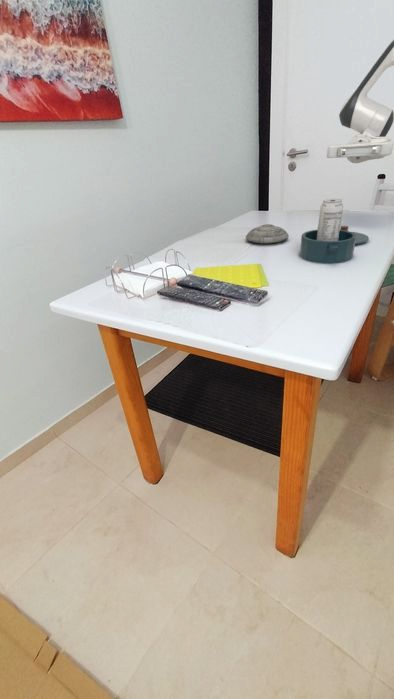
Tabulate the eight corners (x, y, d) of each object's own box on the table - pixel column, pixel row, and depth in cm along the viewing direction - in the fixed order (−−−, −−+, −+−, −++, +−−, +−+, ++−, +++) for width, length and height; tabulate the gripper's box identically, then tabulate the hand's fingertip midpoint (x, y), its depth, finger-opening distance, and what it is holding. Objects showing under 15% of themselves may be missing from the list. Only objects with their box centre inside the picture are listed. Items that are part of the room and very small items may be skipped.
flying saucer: (239, 245, 118) (239, 228, 115) (252, 234, 129) (253, 219, 126) (282, 247, 112) (283, 230, 109) (292, 235, 123) (293, 220, 120)
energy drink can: (334, 250, 103) (342, 197, 95) (337, 256, 98) (345, 201, 90) (314, 250, 105) (320, 198, 97) (315, 256, 100) (322, 202, 92)
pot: (344, 245, 109) (347, 226, 106) (360, 265, 92) (364, 243, 89) (297, 246, 111) (298, 227, 108) (304, 267, 95) (306, 245, 91)
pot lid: (361, 233, 119) (363, 220, 116) (374, 246, 106) (377, 231, 103) (314, 235, 122) (316, 221, 119) (321, 247, 108) (323, 233, 106)
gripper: (329, 140, 122) (325, 142, 111) (393, 136, 114) (396, 137, 104) (327, 160, 125) (323, 164, 114) (388, 157, 118) (391, 160, 107)
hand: (358, 151), depth 109 cm, fingers open, 8 cm apart
